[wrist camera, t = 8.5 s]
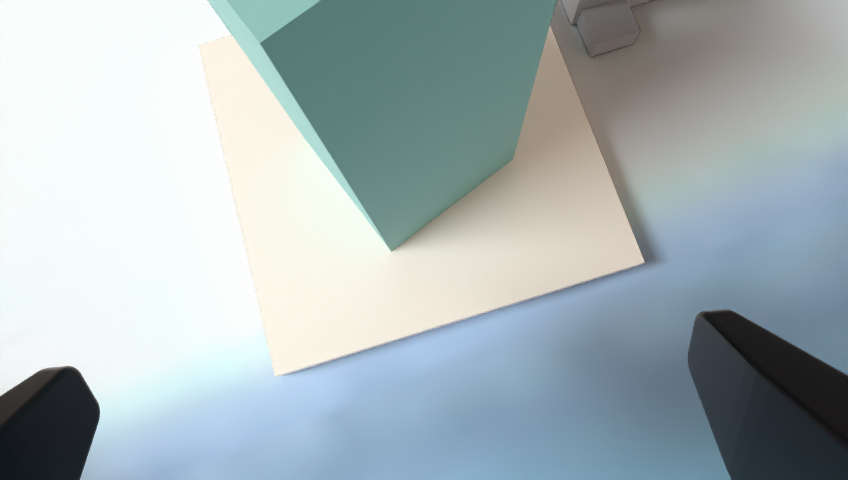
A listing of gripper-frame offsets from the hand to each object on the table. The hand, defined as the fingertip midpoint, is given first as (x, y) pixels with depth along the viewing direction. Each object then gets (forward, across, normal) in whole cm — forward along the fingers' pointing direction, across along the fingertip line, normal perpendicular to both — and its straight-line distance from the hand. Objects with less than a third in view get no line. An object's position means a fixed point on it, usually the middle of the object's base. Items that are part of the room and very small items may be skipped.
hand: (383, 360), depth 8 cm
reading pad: (+12, 0, +2) cm, 12 cm away
